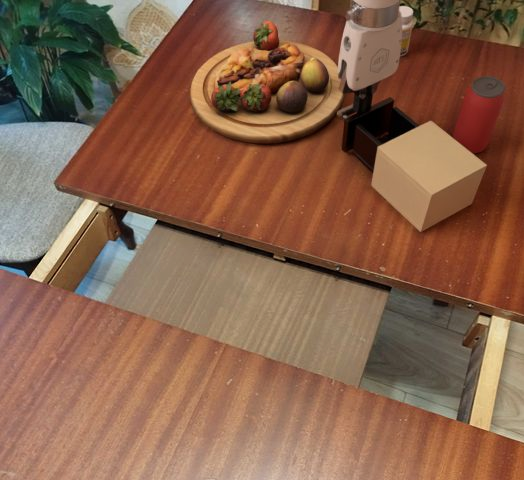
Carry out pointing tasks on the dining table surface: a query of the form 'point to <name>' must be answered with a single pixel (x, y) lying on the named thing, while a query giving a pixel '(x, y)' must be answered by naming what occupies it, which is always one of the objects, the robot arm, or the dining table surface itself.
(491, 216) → the dining table surface
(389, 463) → the dining table surface
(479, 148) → the beer can
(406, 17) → the supplement bottle
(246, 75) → the wooden plate
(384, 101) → the dark brown piece
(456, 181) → the tan box
